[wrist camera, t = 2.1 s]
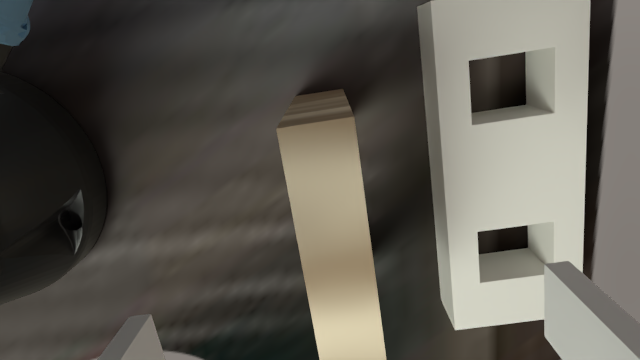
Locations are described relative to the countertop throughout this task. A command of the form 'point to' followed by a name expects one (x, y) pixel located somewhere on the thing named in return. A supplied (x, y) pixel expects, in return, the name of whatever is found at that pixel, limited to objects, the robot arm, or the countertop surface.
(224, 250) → the countertop surface
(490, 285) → the white flat block
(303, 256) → the clip
